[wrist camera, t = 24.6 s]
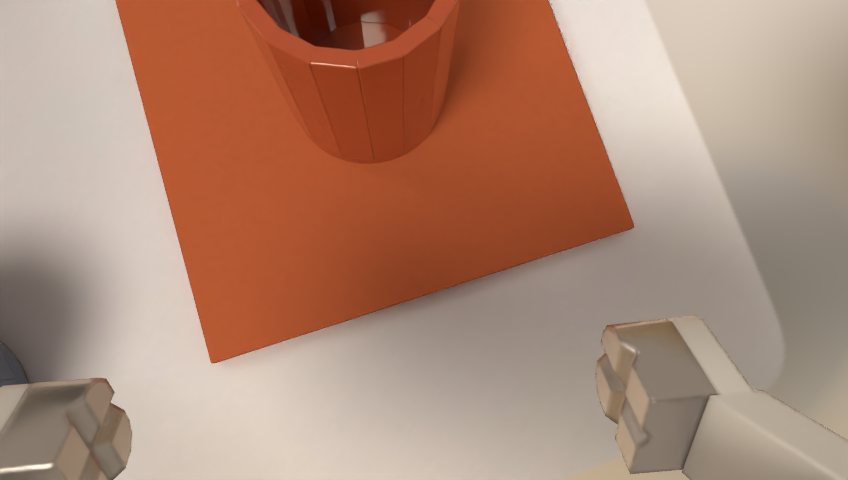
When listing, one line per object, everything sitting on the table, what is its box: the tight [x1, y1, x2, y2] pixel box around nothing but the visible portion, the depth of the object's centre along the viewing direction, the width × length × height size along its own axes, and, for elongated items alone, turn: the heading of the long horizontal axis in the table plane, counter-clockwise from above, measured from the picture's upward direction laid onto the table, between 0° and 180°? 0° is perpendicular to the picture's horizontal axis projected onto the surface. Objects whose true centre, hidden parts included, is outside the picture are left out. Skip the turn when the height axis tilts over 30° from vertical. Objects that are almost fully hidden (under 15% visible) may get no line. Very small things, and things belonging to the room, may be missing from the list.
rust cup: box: [236, 0, 461, 164], centre depth 23 cm, size 7×7×10 cm
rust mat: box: [116, 0, 634, 363], centre depth 28 cm, size 20×20×1 cm
